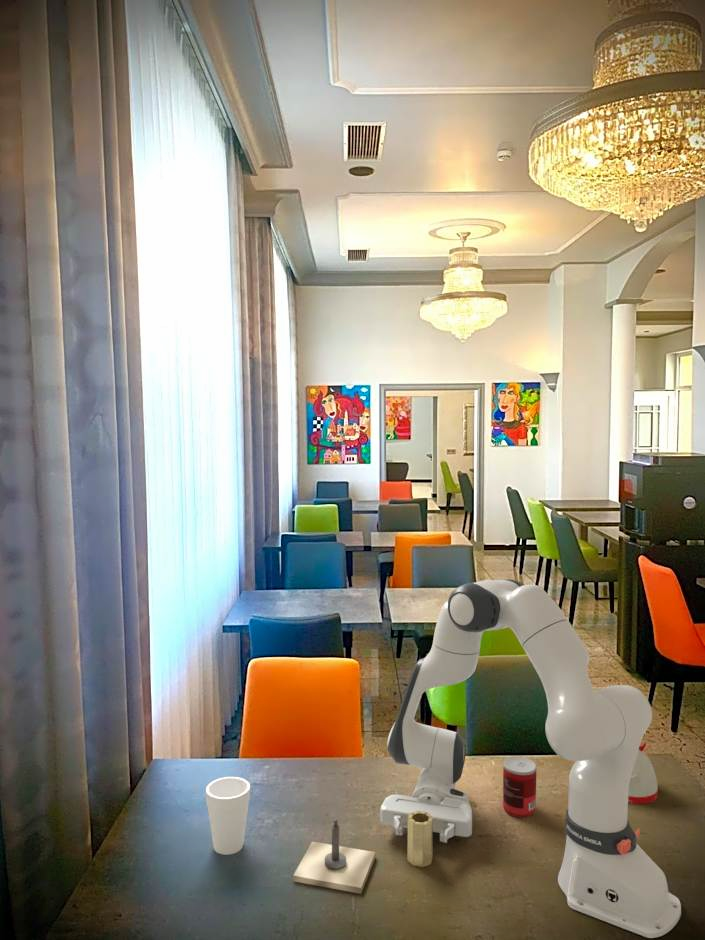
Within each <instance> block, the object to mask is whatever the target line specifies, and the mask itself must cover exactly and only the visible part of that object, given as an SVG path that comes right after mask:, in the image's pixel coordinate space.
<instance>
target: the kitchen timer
mask: <svg viewBox="0 0 705 940" xmlns="http://www.w3.org/2000/svg"><path fill="white" fill-rule="evenodd" d="M646 745H647V742H644V743H643V744H642V745H640V746H639V749H638V753H637V756H636V760H635V763H634V767H633V770H632V774H631V778H630V784H629V794H628V802H629V803H630V804H641V803H642V804H648V803H651V802H654V801H655V800H656V799H657V798H658V793H659V791H658V790H659V786H658V785H659V784H658V779H657V776H656V772H655V769H654V767H653V764H652V762H651V760H650V758H649V757H648V755H647V754H646V752H645V751H644V749H645V748H646ZM629 803H628V804H629Z"/></svg>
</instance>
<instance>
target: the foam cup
mask: <svg viewBox="0 0 705 940" xmlns="http://www.w3.org/2000/svg"><path fill="white" fill-rule="evenodd" d="M205 789H206V790H205V803H206V804H207V811H208V818H209V826H210V831H211V832H210V834H211V837H212V838H211V840H212V846H213V850H214V852H216V853H217V854H220V855H225V856H226V855H228V856H229V855H234V854H237V853H238V852H240V851H241V850H242V848H243V847H244V842H245V834H246V826H247V819H248V810H249V804H250V803H249V802H250V799H251V784H250V782H249V780H246V779H245V778H243V777H238V776H225V777H224V776H223V777H220V778H216V779H215V780H213V781H211V782H209V784H208V785H207V786H206V788H205Z"/></svg>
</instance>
